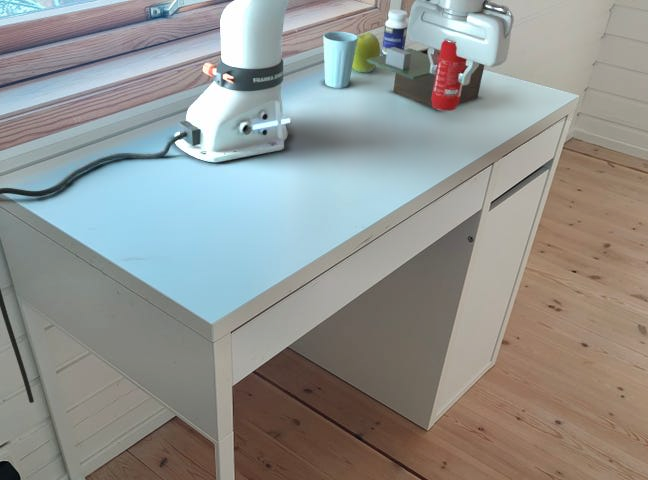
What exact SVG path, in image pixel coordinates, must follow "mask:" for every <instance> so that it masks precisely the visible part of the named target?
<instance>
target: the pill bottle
mask: <svg viewBox="0 0 648 480" xmlns="http://www.w3.org/2000/svg"><path fill="white" fill-rule="evenodd" d="M387 17H388V19H387V20H386V21H385V23H384V31H383V38H382V46H381V52H382V54H383V55H386V54H387V48H391V47H396V48H398V49H401V50H405V46H406V40H407V28H408V22H407V21H406V20H407V18H408V12H407V11H406V10H403V9H390V10H389V11H388V15H387Z"/></svg>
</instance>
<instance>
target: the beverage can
mask: <svg viewBox="0 0 648 480" xmlns="http://www.w3.org/2000/svg"><path fill="white" fill-rule="evenodd" d="M456 50H457V47H456V42H453V41H450V40H446V39H444V41H443V42H442V44H441V49H440V54H439V59H438V65H437V70H436V76H435V81H434V87H433V92H432V98H431V100H432V106H433V107H434V108H435V109H434V110H436V109H438V110H437V111H442V112H451V111H455V110H456V108H457V107H458V105H460V104H459V100H460V96H461V91H462V86H463V85H462V84H459V83H457V80H458V75H459V73H463V72H465V70H466V67H467V66H466V60H467V59H465V58H462V57H459V56H457V55H456Z"/></svg>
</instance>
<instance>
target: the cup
mask: <svg viewBox="0 0 648 480" xmlns="http://www.w3.org/2000/svg"><path fill="white" fill-rule="evenodd" d="M357 36H358V35H356V34H354V33H352V32H347V31H329V32H326V33H324V34H323V57H324V58H323V59H324V60H323V61H324V62H323V63H324V81H325V82H324V83H325V85H326V86H328V87H330V88H334V89H342V88H347V87H349V84H350V79H351V76H352V75H351V74H352V71H353V70H352V69H353V67H352V65H353V60H354V55H355V50H356V45H357V40H358V37H357Z"/></svg>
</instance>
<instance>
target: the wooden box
mask: <svg viewBox="0 0 648 480" xmlns="http://www.w3.org/2000/svg"><path fill="white" fill-rule="evenodd" d="M417 51H419V52H422V53H425V54H427V55H428V47H427V48H422V49H419V50H417ZM439 54H440V53H438V55H439ZM467 67H468V66H467ZM467 67H466V69H467ZM484 69H485V65H483V64H480V63H479V66H478V67H477V68H476V70H475V71H474V72H473V73H472V74H471V78H470V82H469V84H468V85H463V86H462V91H461V96H460V100H459V104H458V105H460V104H463V103H466V102H469V101H472V100H475V99H478V97H479V93H480V87H481V83H482V78H483V74H484ZM435 76H436V75H434V74H433V75H429V76H426V77H422V78H418V79H415V80H412V79H410V78H407V77H405V76H402V75H399V74H397V73H395V76H394V82H393V90H392V92H393V93H394V94H397V95H400V96H402V97H405V98H407V99H409V100H412V101H414V102H416V103H419V104H422V105H424V106H427V107H429V108H431V109H434V110H436V111H439V110H438V109H435V108H434V107H433V106H432V100H431V98H432V92H433V87H434V81H435Z"/></svg>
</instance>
